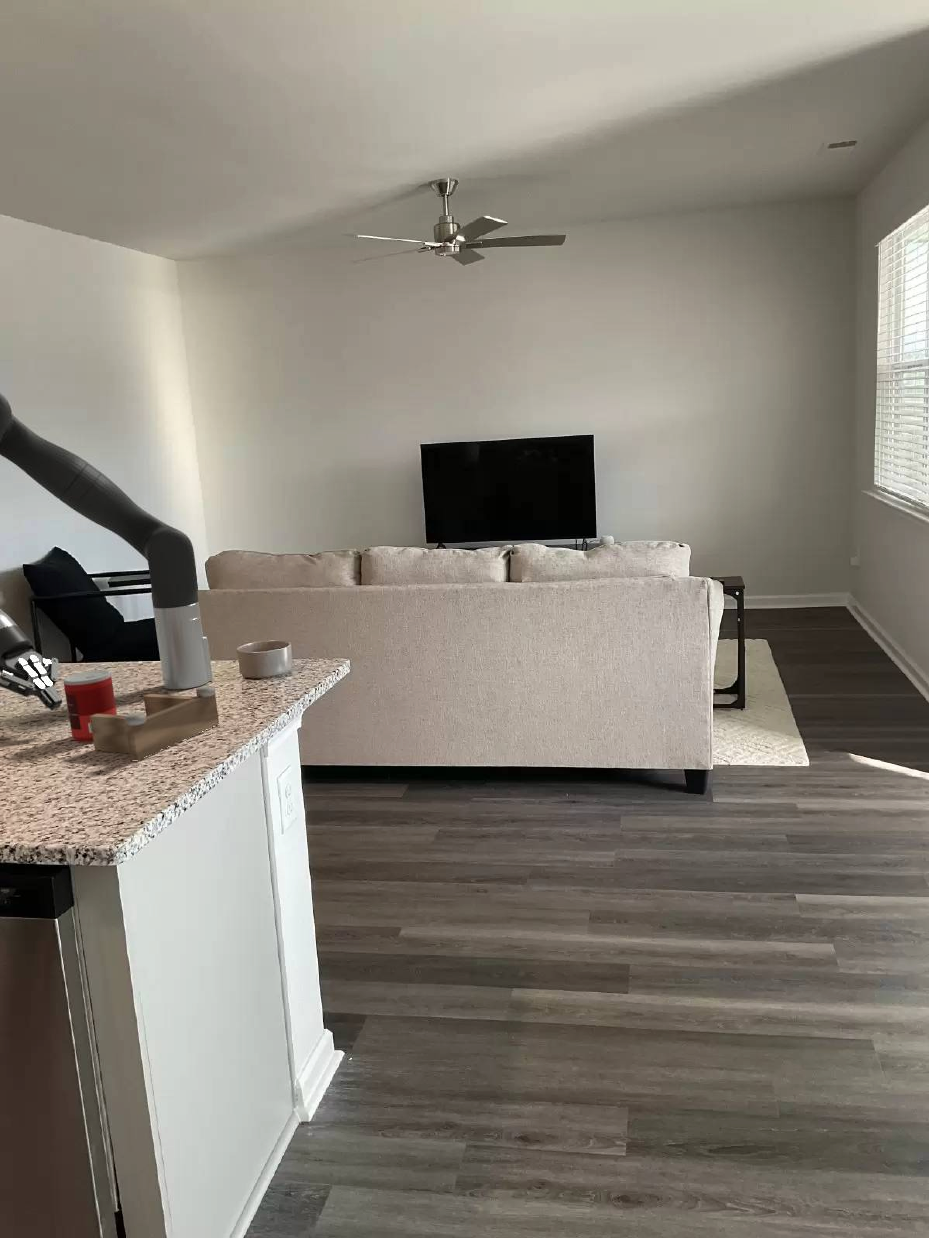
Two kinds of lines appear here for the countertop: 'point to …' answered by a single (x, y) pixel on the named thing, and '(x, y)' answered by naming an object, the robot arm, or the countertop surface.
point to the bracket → (156, 723)
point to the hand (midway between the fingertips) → (57, 706)
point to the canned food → (88, 701)
